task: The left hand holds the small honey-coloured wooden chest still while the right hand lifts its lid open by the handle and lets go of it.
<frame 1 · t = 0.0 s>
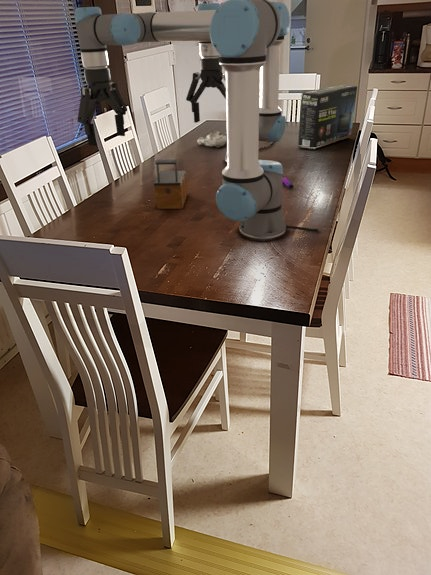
left hand: (213, 123, 165), 28 cm above the table, tool pointing down, fingers open, 13 cm apart
right hand: (107, 140, 148), 28 cm above the table, tool pointing down, fingers open, 13 cm apart
router box: (325, 143, 245), on the table
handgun: (277, 181, 193), on the table
chest: (172, 202, 177), on the table
fossil: (213, 144, 250), on the table
lid: (169, 167, 169), point 14 cm above the table, hinge at 0.0°
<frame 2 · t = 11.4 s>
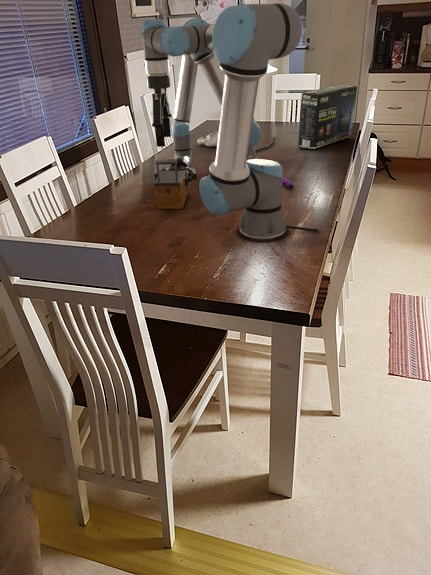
left hand: (172, 183, 177), 6 cm above the table, tool horizontal, fingers closed on chest, 10 cm apart
right hand: (164, 141, 159), 24 cm above the table, tool pointing down, fingers open, 13 cm apart
chest: (172, 202, 177), on the table, touching left hand
everything else where it was.
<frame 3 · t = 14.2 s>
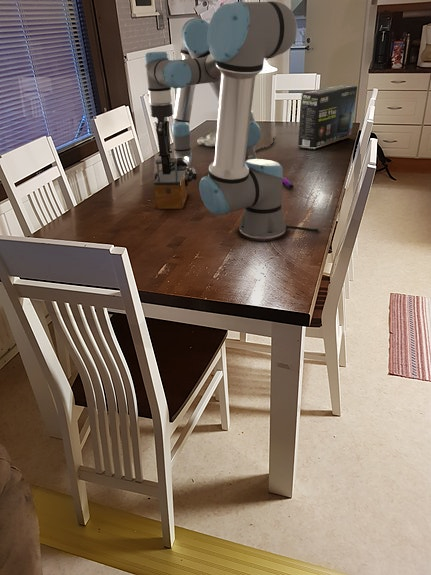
left hand: (172, 183, 177), 6 cm above the table, tool horizontal, fingers closed on chest, 10 cm apart
right hand: (167, 172, 165), 13 cm above the table, tool pointing down, fingers closed on lid, 2 cm apart
chest: (172, 202, 177), on the table, touching left hand
lid: (169, 166, 169), point 14 cm above the table, hinge at 1.0°, touching right hand
everything else where it was.
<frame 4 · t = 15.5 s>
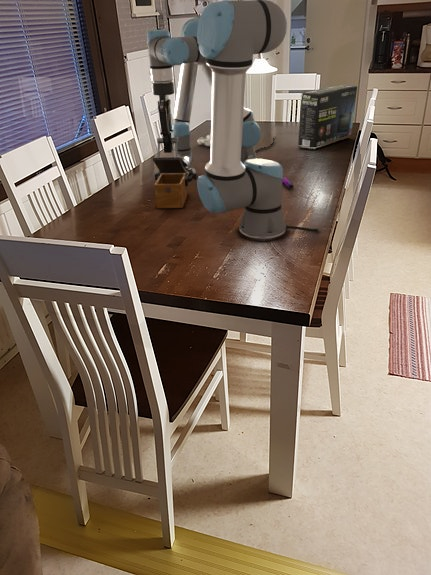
left hand: (172, 183, 177), 6 cm above the table, tool horizontal, fingers closed on chest, 10 cm apart
right hand: (168, 151, 168), 19 cm above the table, tool pointing down, fingers closed on lid, 2 cm apart
chest: (172, 201, 177), on the table, touching left hand
lid: (169, 155, 171), point 17 cm above the table, hinge at 34.4°, touching right hand
everything else where it was.
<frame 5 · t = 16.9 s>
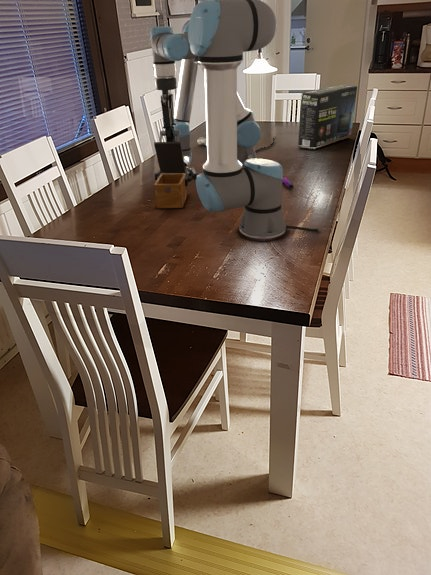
left hand: (172, 183, 177), 6 cm above the table, tool horizontal, fingers closed on chest, 10 cm apart
right hand: (171, 144, 173), 20 cm above the table, tool pointing down, fingers open, 3 cm apart
chest: (172, 201, 177), on the table, touching left hand
lid: (171, 150, 173), point 18 cm above the table, hinge at 60.4°
everything else where it was.
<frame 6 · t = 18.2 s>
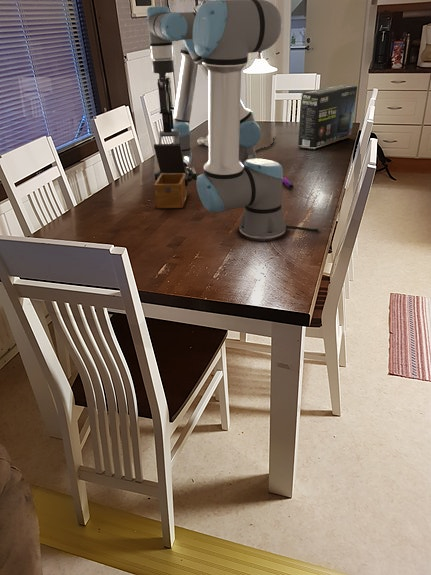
left hand: (172, 183, 177), 6 cm above the table, tool horizontal, fingers closed on chest, 10 cm apart
right hand: (168, 130, 167), 26 cm above the table, tool pointing down, fingers open, 5 cm apart
chest: (172, 201, 176), on the table, touching left hand
lid: (171, 150, 173), point 18 cm above the table, hinge at 56.2°
everything else where it was.
when the left hand's fingers open (6 cm above the table, at t = 20.8 s): chest stays where it is, on the table.
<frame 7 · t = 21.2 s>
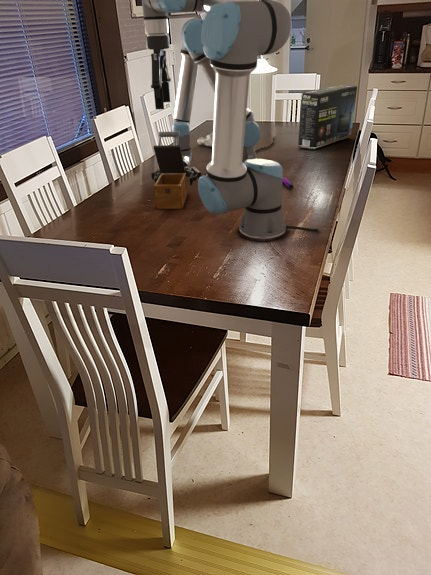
left hand: (173, 181, 178), 6 cm above the table, tool horizontal, fingers open, 13 cm apart
right hand: (163, 105, 157), 35 cm above the table, tool pointing down, fingers open, 13 cm apart
chest: (172, 202, 177), on the table
lid: (170, 151, 172), point 18 cm above the table, hinge at 54.9°
everything else where it was.
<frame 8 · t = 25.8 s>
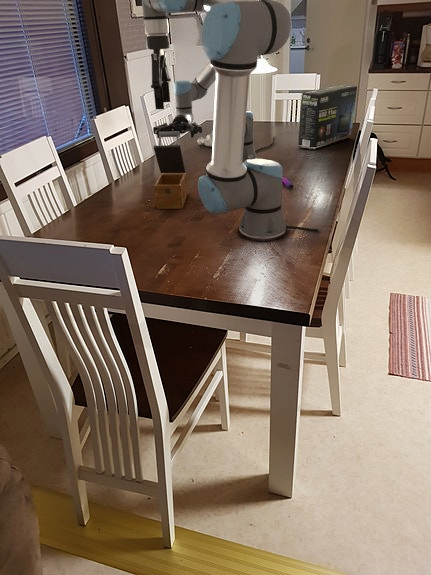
left hand: (174, 134, 182), 21 cm above the table, tool horizontal, fingers open, 13 cm apart
right hand: (163, 105, 157), 35 cm above the table, tool pointing down, fingers open, 13 cm apart
nothing on the table moved.
at the end: lid at +55° (first picture: +0°); the left hand is holding nothing; the right hand is holding nothing; chest tilted 0°; chest never tilted more than 2° during the clip; chest moved 0.0 cm from its start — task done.
